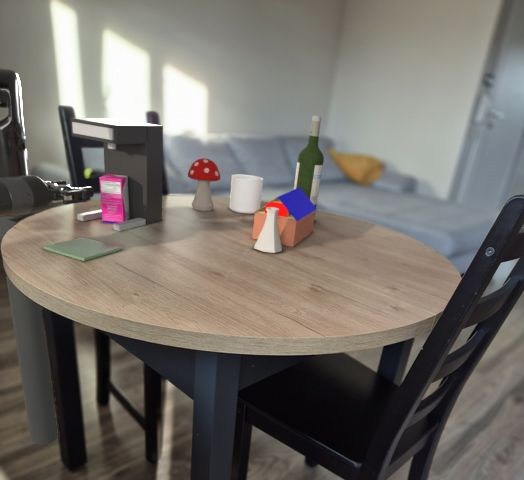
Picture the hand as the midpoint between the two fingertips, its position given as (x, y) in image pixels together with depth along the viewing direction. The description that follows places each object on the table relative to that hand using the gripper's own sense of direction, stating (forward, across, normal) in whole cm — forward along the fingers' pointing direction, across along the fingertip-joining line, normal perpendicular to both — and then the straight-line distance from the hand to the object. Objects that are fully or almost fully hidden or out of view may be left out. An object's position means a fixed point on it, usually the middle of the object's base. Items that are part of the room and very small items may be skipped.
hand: (78, 188), depth 113 cm
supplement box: (+12, 0, +10) cm, 16 cm away
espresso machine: (+14, 0, +10) cm, 17 cm away
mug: (+57, -15, +10) cm, 59 cm away
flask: (+21, -41, +10) cm, 47 cm away
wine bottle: (+60, -34, +10) cm, 69 cm away
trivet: (-11, -12, +10) cm, 19 cm away
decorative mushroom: (+45, -6, +10) cm, 46 cm away
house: (+37, -38, +10) cm, 54 cm away
